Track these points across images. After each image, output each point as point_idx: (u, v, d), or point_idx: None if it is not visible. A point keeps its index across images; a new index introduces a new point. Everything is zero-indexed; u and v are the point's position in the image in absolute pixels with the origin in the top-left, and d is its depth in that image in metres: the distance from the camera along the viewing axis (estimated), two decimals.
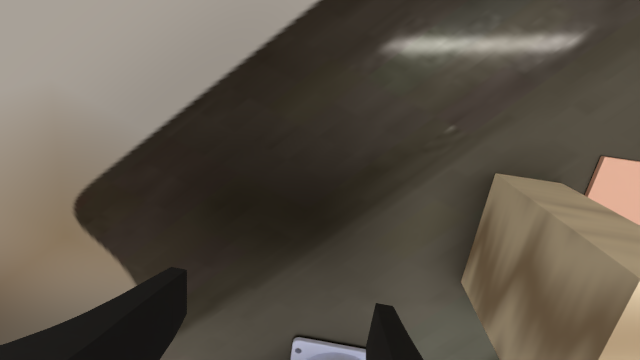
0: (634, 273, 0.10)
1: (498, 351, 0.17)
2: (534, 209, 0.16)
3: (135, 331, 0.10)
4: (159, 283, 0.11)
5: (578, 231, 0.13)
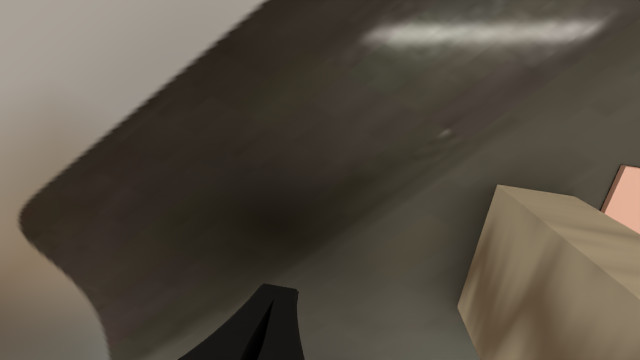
0: None
1: None
2: (545, 233, 0.13)
3: (252, 353, 0.09)
4: (263, 302, 0.11)
5: (604, 268, 0.10)
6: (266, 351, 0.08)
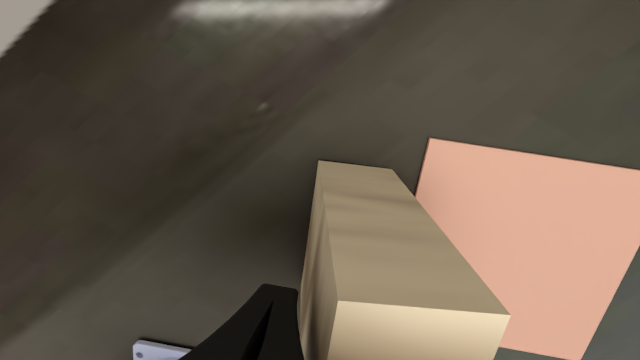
0: (339, 291, 0.07)
1: None
2: (322, 203, 0.13)
3: (252, 353, 0.09)
4: (264, 302, 0.11)
5: (332, 231, 0.10)
6: (266, 351, 0.08)
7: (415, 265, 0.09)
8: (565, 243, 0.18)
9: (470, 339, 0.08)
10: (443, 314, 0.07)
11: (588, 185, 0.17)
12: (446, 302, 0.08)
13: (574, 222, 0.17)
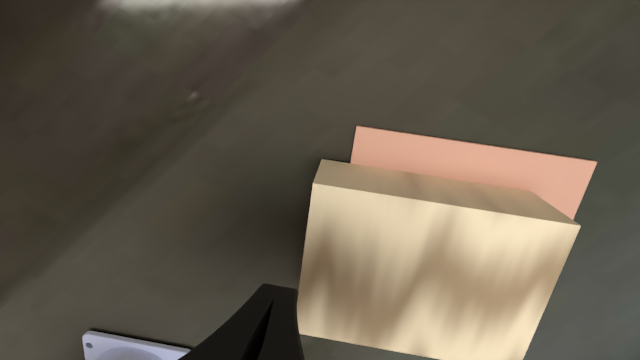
0: (572, 223, 0.13)
1: (419, 351, 0.16)
2: (428, 209, 0.14)
3: (252, 353, 0.09)
4: (263, 302, 0.11)
5: (499, 211, 0.14)
6: (266, 351, 0.08)
7: (512, 198, 0.16)
8: None
9: None
10: (547, 205, 0.16)
11: (513, 172, 0.17)
12: (541, 201, 0.16)
13: None
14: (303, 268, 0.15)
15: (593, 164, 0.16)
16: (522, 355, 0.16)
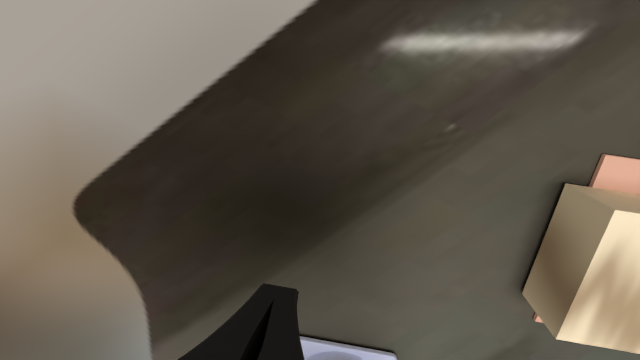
0: None
1: None
2: None
3: (252, 353, 0.09)
4: (263, 302, 0.11)
5: None
6: (266, 351, 0.08)
7: None
8: None
9: None
10: None
11: None
12: None
13: None
14: (583, 283, 0.17)
15: None
16: None
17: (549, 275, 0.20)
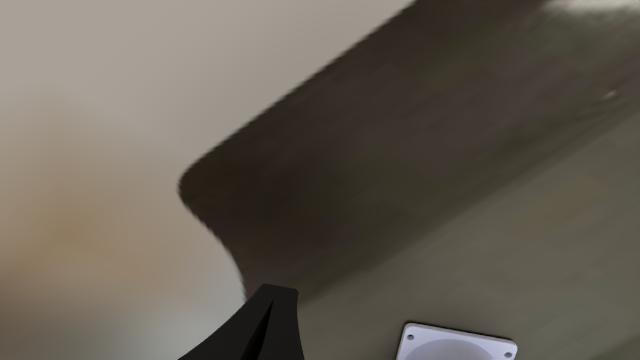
0: None
1: None
2: None
3: (252, 353, 0.09)
4: (263, 302, 0.11)
5: None
6: (266, 351, 0.08)
7: None
8: None
9: None
10: None
11: None
12: None
13: None
14: None
15: None
16: None
17: None
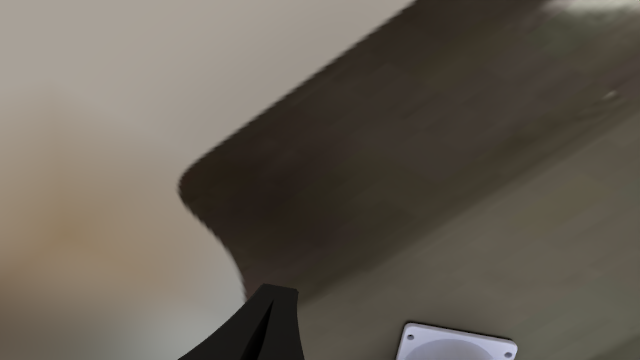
0: None
1: None
2: None
3: (252, 353, 0.09)
4: (263, 302, 0.11)
5: None
6: (266, 351, 0.08)
7: None
8: None
9: None
10: None
11: None
12: None
13: None
14: None
15: None
16: None
17: None
